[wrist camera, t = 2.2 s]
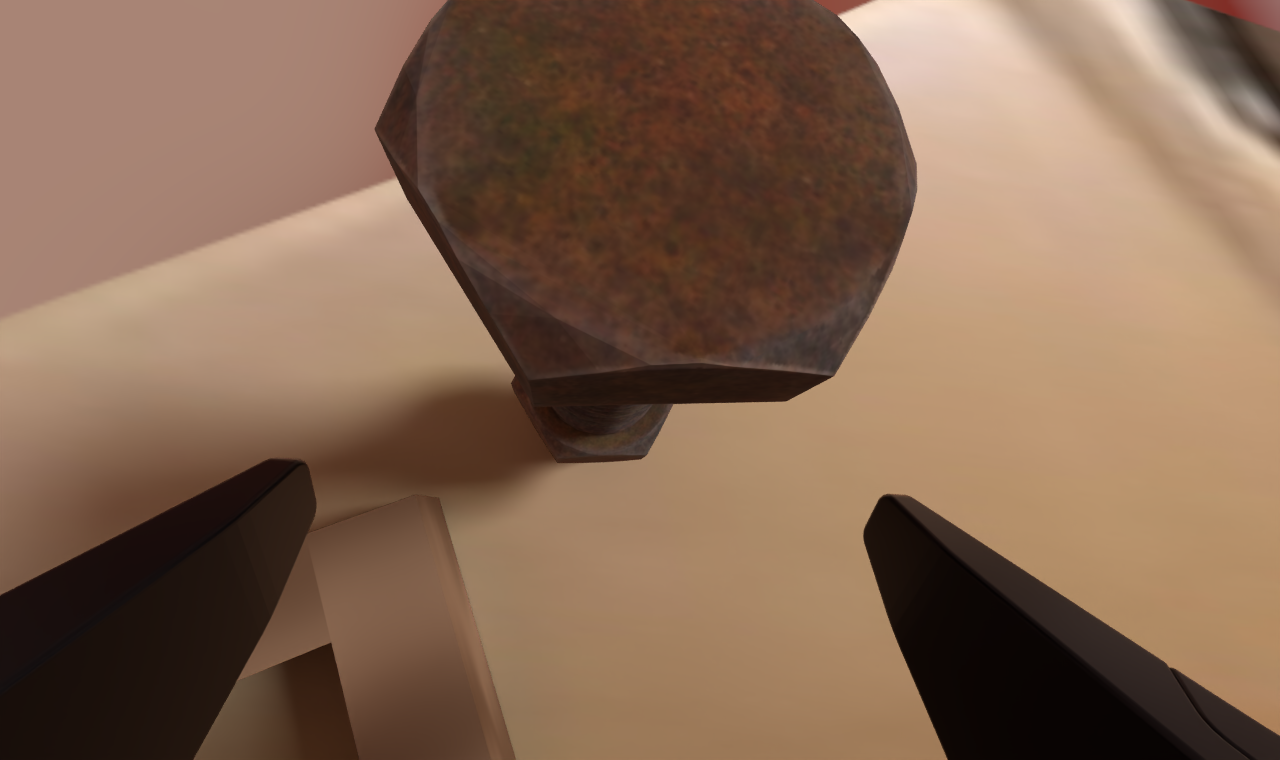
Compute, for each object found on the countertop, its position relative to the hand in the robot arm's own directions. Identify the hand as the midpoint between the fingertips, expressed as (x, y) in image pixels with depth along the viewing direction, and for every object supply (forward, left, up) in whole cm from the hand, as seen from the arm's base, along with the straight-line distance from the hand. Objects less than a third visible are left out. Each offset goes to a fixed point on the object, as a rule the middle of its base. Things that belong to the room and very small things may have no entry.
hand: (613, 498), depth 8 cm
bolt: (+3, -1, -11) cm, 12 cm away
